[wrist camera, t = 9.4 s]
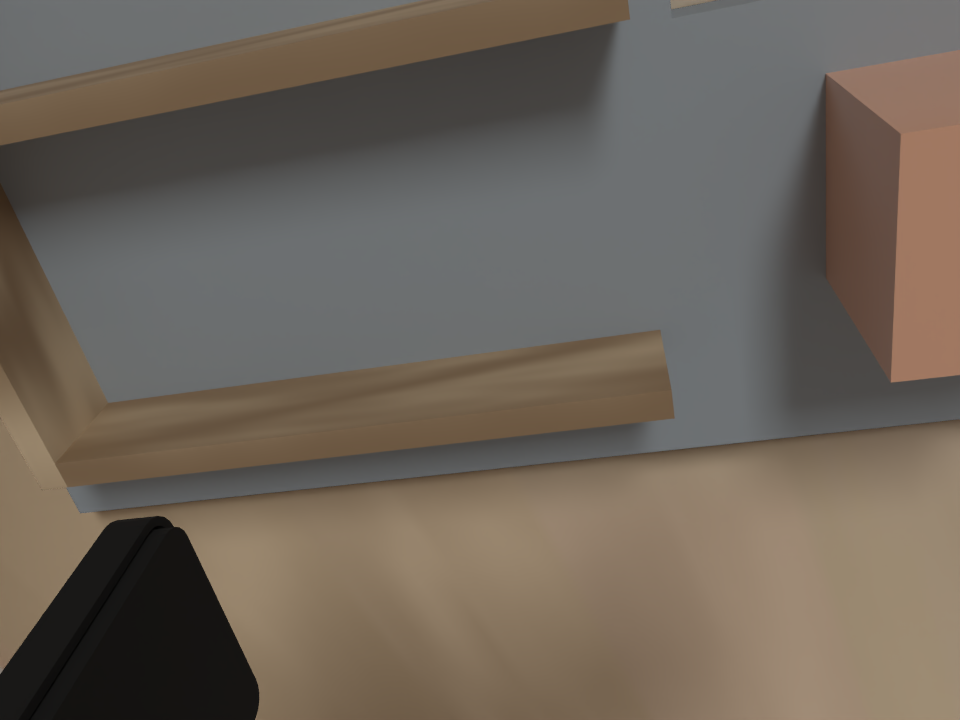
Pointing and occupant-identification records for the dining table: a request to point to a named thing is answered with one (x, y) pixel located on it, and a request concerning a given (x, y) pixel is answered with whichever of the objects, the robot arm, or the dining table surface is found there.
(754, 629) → the dining table surface
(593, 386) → the frame
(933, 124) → the cube
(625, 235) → the deck
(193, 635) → the robot arm
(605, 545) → the dining table surface
